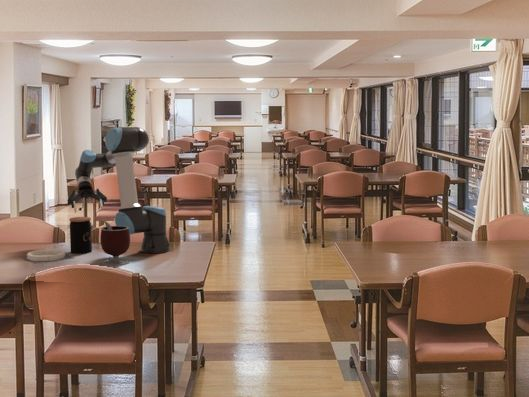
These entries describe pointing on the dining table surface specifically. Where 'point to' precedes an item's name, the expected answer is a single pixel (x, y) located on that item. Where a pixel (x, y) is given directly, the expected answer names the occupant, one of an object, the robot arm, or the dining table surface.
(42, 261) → the mat
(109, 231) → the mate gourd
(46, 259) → the dish
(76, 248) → the coffee jar
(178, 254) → the dining table surface
